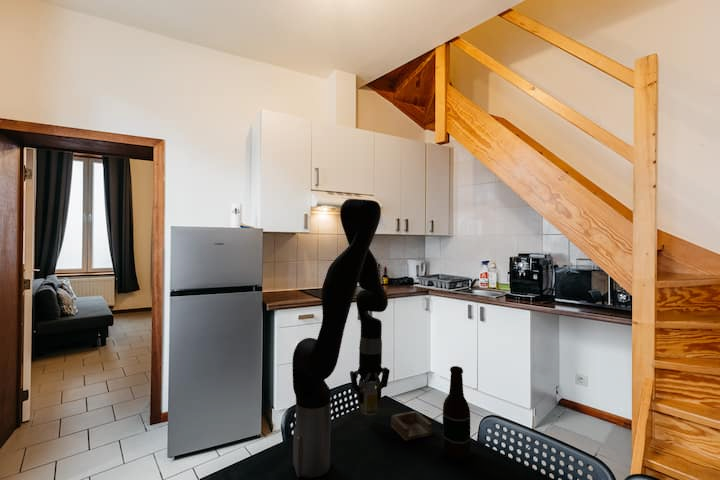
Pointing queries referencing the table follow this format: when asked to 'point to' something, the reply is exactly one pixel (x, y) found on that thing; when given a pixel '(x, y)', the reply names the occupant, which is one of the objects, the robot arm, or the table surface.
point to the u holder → (411, 425)
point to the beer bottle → (456, 418)
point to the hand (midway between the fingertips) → (369, 401)
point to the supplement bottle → (369, 399)
